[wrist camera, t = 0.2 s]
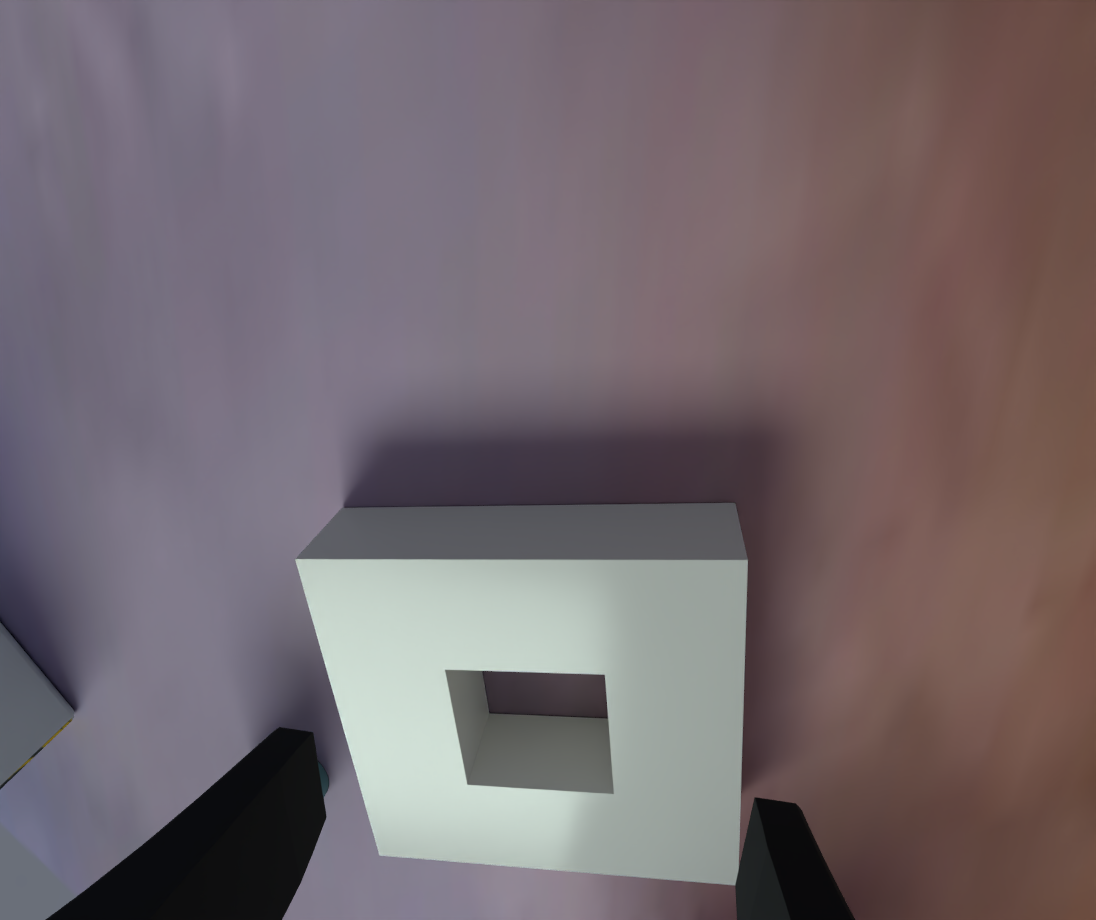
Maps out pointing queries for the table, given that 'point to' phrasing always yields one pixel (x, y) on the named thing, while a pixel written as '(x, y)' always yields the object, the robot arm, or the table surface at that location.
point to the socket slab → (545, 647)
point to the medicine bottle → (25, 708)
